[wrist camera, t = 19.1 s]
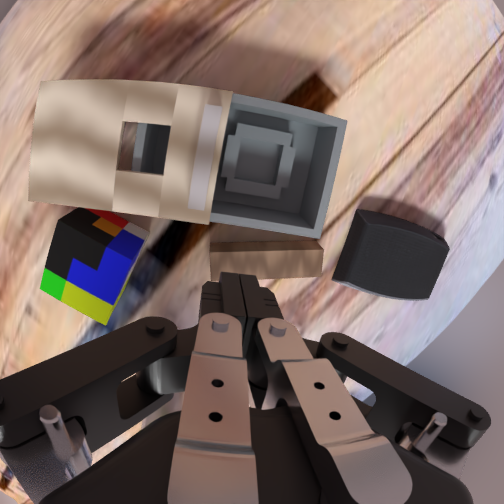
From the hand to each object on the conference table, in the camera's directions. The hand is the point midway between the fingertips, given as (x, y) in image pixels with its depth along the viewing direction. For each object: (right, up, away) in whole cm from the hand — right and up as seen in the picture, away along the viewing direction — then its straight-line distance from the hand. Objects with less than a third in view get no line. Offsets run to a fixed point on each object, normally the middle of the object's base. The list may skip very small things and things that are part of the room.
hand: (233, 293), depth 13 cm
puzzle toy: (-20, +3, +28) cm, 35 cm away
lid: (-13, +13, +16) cm, 24 cm away
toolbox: (-2, +14, +26) cm, 29 cm away
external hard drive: (+24, +1, +34) cm, 42 cm away
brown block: (+10, +1, +30) cm, 32 cm away
